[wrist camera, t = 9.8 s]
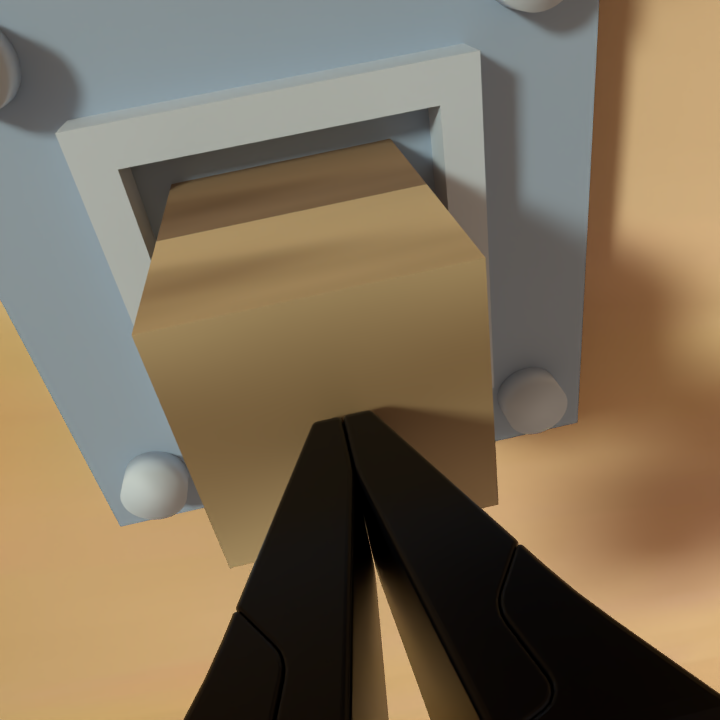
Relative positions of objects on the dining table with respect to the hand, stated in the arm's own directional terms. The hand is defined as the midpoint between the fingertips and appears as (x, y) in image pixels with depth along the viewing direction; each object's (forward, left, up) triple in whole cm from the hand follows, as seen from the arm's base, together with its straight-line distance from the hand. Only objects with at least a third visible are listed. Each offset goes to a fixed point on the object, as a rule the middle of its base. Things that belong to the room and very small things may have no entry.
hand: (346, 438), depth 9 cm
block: (0, 0, -6) cm, 6 cm away
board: (0, 0, -7) cm, 7 cm away
